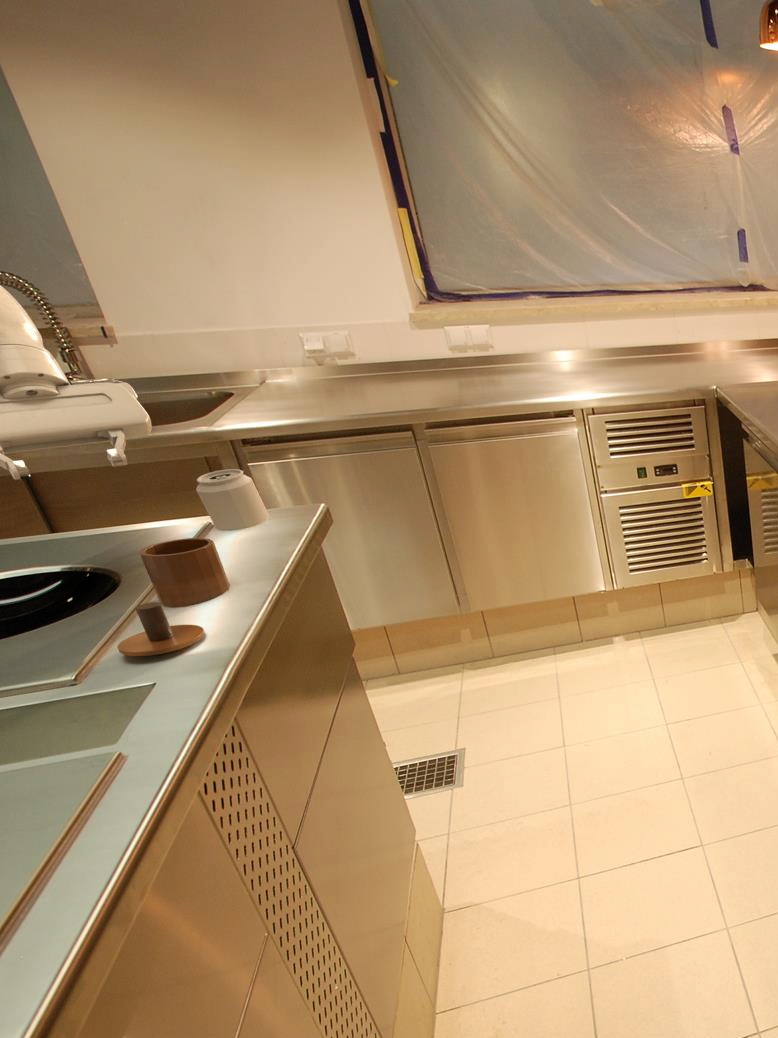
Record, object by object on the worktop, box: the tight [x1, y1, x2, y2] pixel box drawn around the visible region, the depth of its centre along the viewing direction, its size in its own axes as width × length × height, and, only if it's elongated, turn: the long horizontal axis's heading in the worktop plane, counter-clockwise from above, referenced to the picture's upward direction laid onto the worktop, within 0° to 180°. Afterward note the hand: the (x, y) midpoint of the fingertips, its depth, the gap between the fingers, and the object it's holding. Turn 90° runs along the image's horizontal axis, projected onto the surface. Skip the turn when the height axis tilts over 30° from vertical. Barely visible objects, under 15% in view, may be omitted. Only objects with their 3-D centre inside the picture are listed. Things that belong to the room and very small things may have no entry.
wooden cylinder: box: [139, 537, 231, 609], centre depth 119 cm, size 8×8×8 cm
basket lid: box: [117, 601, 206, 657], centre depth 107 cm, size 8×8×6 cm
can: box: [195, 468, 270, 532], centre depth 142 cm, size 8×8×12 cm
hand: (73, 469), depth 110 cm, fingers open, 8 cm apart
